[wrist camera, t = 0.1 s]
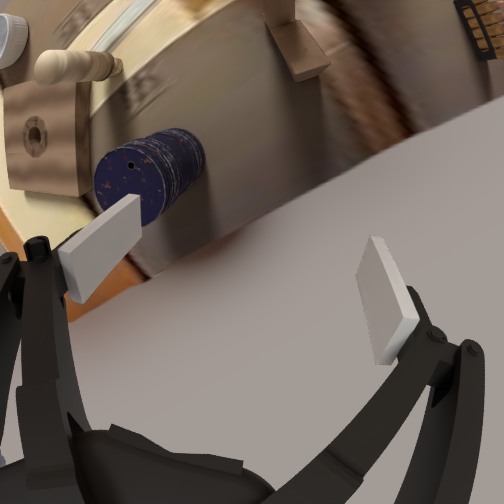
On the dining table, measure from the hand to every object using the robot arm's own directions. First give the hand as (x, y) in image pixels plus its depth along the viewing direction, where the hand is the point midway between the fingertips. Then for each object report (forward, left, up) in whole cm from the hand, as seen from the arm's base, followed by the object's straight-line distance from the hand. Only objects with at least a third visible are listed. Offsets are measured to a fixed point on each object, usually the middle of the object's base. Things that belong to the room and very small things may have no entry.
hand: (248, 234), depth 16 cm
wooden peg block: (-15, 0, -28) cm, 32 cm away
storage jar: (+4, -15, -28) cm, 32 cm away
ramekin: (-22, -57, -28) cm, 68 cm away
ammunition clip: (-28, +27, -28) cm, 48 cm away
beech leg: (-11, -27, -28) cm, 41 cm away
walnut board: (0, -43, -28) cm, 51 cm away
